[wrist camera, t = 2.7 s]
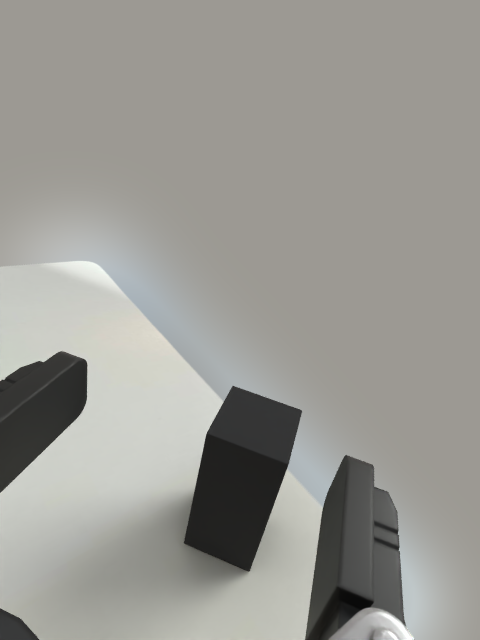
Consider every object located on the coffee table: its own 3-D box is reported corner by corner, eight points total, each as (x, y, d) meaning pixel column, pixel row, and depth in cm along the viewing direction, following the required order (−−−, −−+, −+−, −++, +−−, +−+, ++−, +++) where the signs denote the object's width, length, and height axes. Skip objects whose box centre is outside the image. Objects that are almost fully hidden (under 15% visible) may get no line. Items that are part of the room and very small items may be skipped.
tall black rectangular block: (266, 512, 32) (302, 410, 27) (249, 572, 28) (288, 464, 22) (208, 488, 33) (232, 385, 28) (183, 543, 29) (206, 433, 23)
